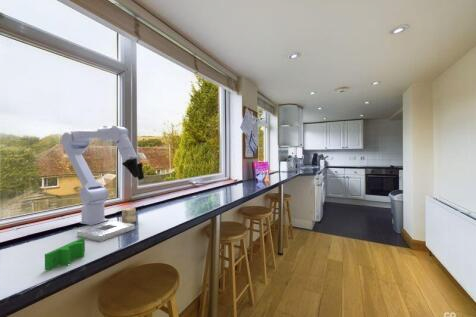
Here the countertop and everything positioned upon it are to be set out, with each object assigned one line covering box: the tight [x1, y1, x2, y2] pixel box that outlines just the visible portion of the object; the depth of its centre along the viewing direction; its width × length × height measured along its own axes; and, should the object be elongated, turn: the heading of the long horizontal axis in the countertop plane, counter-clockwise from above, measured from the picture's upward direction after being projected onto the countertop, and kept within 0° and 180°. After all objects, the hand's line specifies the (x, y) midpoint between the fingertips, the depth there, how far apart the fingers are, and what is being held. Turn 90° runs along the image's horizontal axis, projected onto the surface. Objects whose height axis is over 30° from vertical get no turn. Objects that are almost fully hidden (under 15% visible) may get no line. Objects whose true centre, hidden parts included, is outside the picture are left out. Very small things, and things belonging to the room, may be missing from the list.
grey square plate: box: [76, 220, 135, 243], centre depth 82 cm, size 14×14×2 cm
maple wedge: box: [121, 207, 137, 224], centre depth 96 cm, size 4×4×6 cm
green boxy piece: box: [44, 237, 86, 271], centre depth 60 cm, size 11×4×5 cm, turn 173°
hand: (139, 177), depth 90 cm, fingers open, 7 cm apart
